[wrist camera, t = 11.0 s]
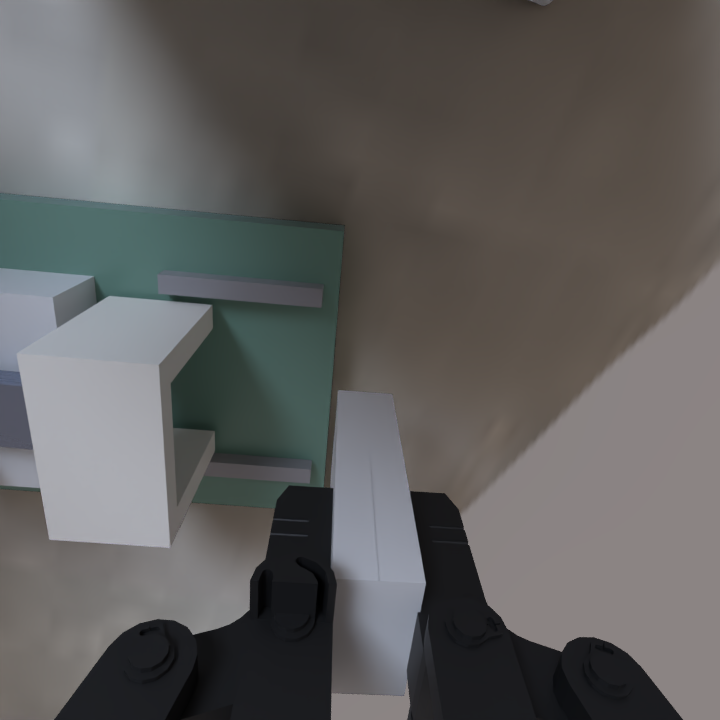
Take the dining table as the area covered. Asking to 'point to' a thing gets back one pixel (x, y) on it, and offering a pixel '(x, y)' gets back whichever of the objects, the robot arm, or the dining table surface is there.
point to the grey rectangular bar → (13, 413)
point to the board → (222, 345)
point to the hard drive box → (542, 2)
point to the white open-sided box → (115, 421)
